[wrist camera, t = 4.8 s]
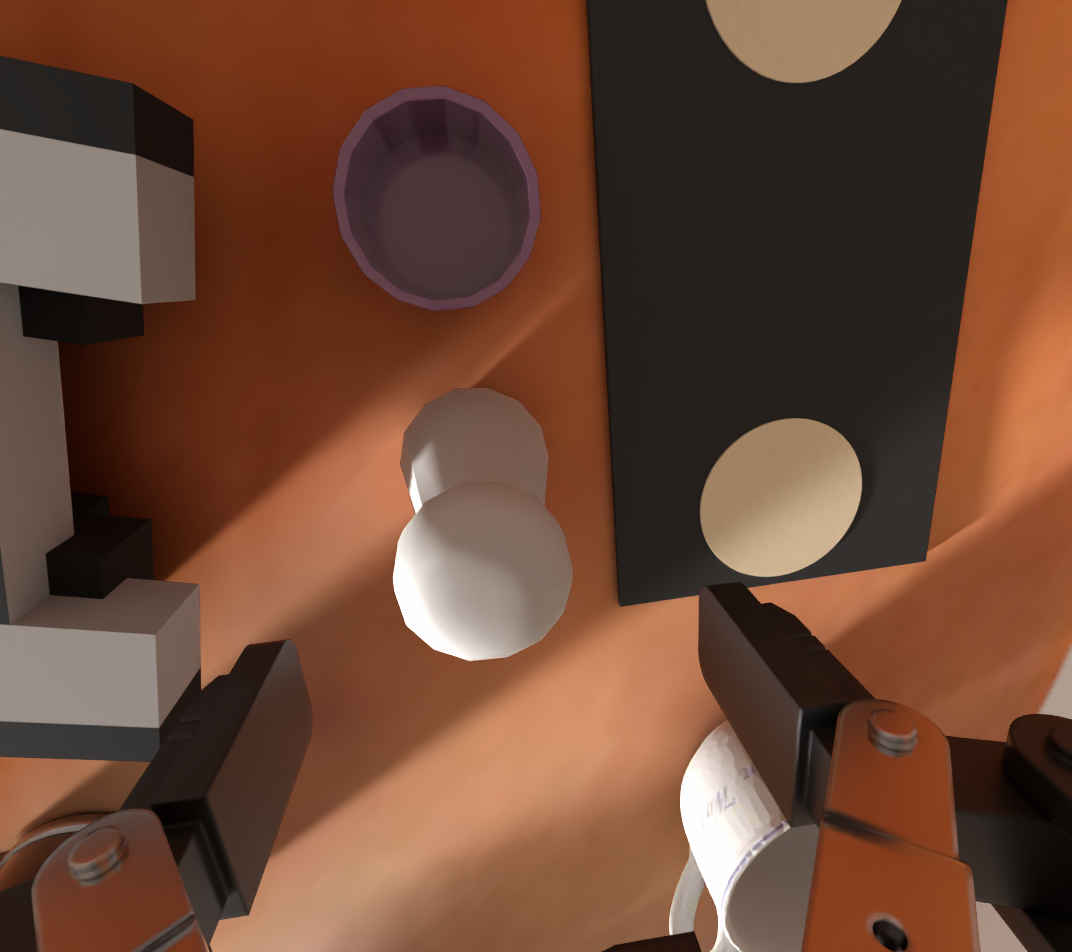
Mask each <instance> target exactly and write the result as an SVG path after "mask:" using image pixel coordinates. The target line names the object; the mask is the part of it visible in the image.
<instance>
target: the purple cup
mask: <svg viewBox="0 0 1072 952" xmlns="http://www.w3.org/2000/svg"><path fill="white" fill-rule="evenodd" d="M332 191H333V192H332V194H333V199H334V205H335V210H336V215H337V220H338V226H339V231H340V235H341V238H342V239H343V241H344V243H345V244H346V246H347V248H348V249H349V251H350V253H351V254H352V256H353V257H354V259H355V261H356V262H357V264H358V266H359V267H360V269H361V271H362V272H363V273H364V275H366V276H367V277H368V278H369V279H371V280H372V281H373V282H374V283H376V284H377V285H378V286H379V287H381V288H382V289H383V290H384V291H386V292H387V293H388V294H389V295H391V296H392V297H393V298H395V299H397V300H398V301H402V302H405V303H408V304H411V305H415V306H418V307H421V308H425V309H428V310H431V311H444V310H453V309H463V308H471V307H474V306H476V305H478V304H480V303H481V302H483V301H485V300H487V299H488V298H490V297H492V296H494V295H496V294H497V293H499V292H501V291H503V290H504V289H505V288H507V286H508V285H509V284H510V283H511V281H512V280H513V279H514V277H515V276H516V275H517V273H518V272H519V271H520V270H521V268H522V267H523V266H524V264H525V263H526V262H527V260H528V259H529V257H530V255H531V251H532V248H533V244H534V241H535V237H536V234H537V230H538V227H539V223H540V220H541V218H540V217H541V210H540V198H539V186H538V175H537V172H536V169H535V167H534V165H533V163H532V161H531V159H530V157H529V154H528V152H527V150H526V148H525V146H524V144H523V142H522V139H521V137H520V135H519V134H518V132H517V131H516V130H515V129H514V128H513V127H512V126H511V125H510V124H509V123H508V122H507V121H506V120H505V119H504V118H503V117H502V116H501V115H499V114H498V113H497V112H496V111H495V110H494V109H493V108H492V107H491V106H490V105H489V104H488V103H487V102H485V101H484V100H481V99H479V98H476V97H473V96H471V95H468V94H466V93H463V92H460V91H458V90H455V89H453V88H450V87H447V86H445V87H444V86H430V87H416V88H403V89H400V90H398V91H397V92H395V93H393V94H391V95H390V96H388V97H386V98H385V99H383V100H381V101H380V102H378V103H376V104H375V105H373V106H371V107H370V108H368V109H366V110H365V111H364V112H363V114H362V115H361V117H360V118H359V120H358V121H357V122H356V124H355V125H354V127H353V128H352V130H351V131H350V133H349V134H348V136H347V137H346V139H345V140H344V142H343V143H342V145H341V148H340V150H339V156H338V161H337V167H336V172H335V177H334V183H333V188H332Z"/></svg>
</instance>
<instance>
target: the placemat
mask: <svg viewBox="0 0 1072 952" xmlns="http://www.w3.org/2000/svg"><path fill="white" fill-rule="evenodd" d="M586 2H587V20H588V39H589V58H590V77H591V95H592V114H593V133H594V151H595V170H596V189H597V208H598V226H599V245H600V264H601V282H602V301H603V320H604V338H605V357H606V376H607V395H608V413H609V432H610V451H611V469H612V488H613V507H614V525H615V544H616V563H617V582H618V600H619V604H620V606H621V607H622V606H629V605H635V604H642V603H649V602H655V601H662V600H669V599H676V598H682V597H689V596H696V595H699V593H700V589H701V587H702V586H707V585H714V584H722V583H730V582H737V581H739V582H741V583H743V584H744V585H745V586H746V588H749V587H756V586H763V585H770V584H776V583H783V582H790V581H796V580H803V579H810V578H817V577H823V576H830V575H837V574H843V573H850V572H857V571H863V570H870V569H877V568H884V567H890V566H897V565H904V564H910V563H917V562H924V561H926V555H927V549H928V542H929V535H930V528H931V521H932V514H933V507H934V500H935V494H936V487H937V480H938V473H939V466H940V459H941V452H942V446H943V439H944V432H945V425H946V418H947V411H948V404H949V398H950V391H951V384H952V377H953V370H954V363H955V356H956V349H957V343H958V336H959V329H960V322H961V315H962V308H963V301H964V295H965V288H966V281H967V274H968V267H969V260H970V253H971V247H972V240H973V233H974V226H975V219H976V212H977V205H978V199H979V192H980V185H981V178H982V171H983V164H984V157H985V150H986V144H987V137H988V130H989V123H990V116H991V109H992V102H993V96H994V89H995V82H996V75H997V68H998V61H999V54H1000V48H1001V41H1002V34H1003V27H1004V20H1005V13H1006V6H1007V0H586Z"/></svg>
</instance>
